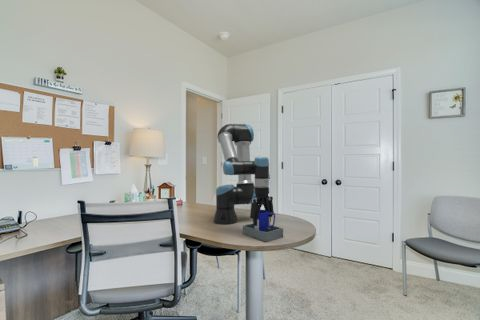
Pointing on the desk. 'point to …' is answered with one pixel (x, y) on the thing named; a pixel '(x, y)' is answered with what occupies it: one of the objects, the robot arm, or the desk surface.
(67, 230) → the desk surface
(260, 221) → the mug
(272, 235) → the tray
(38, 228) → the desk surface
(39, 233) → the desk surface
